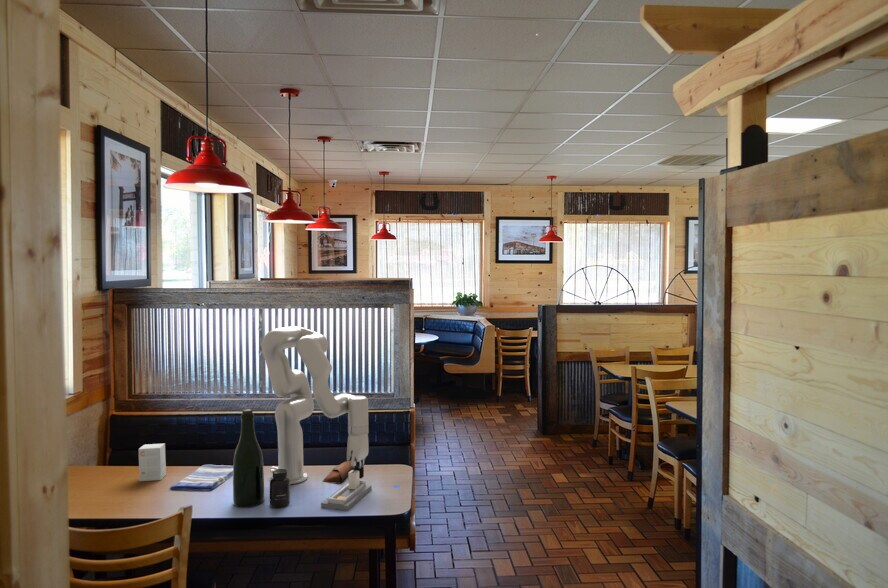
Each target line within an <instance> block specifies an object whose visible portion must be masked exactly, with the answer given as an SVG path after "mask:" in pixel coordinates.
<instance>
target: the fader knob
mask: <svg viewBox="0 0 888 588" xmlns="http://www.w3.org/2000/svg"><path fill="white" fill-rule="evenodd" d="M347 477H348V482H347V483H349V489H355V490H356V489H357V488H358V487H359V486H360V483H359V481H360V478H359V471H357V470H354V469H353V470H351V471H350V472H349V473H348V475H347Z"/></svg>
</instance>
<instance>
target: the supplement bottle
mask: <svg viewBox="0 0 888 588" xmlns="http://www.w3.org/2000/svg"><path fill="white" fill-rule="evenodd" d="M286 476H287V470H286V469H277V470H274V471H273V473H272V478H271V479H270V481H269V506H270V508H273V509H283V508H286V507H288V506H289V505H290V503H291V484H290V479H289V478H288V477H286Z"/></svg>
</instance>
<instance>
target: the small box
mask: <svg viewBox="0 0 888 588" xmlns="http://www.w3.org/2000/svg"><path fill="white" fill-rule="evenodd" d="M137 450H138V478H139V479H138V480H139V482H150V481H152V482H153V481H161V480H163V478H165V476H166V475H167V471H166V470H167V467H166V466H167V462H166V443H152V444H151V443H150V444H149V443H148V444H146V443H145V444H143V445H142V446H140V447H139V448H138V449H137Z"/></svg>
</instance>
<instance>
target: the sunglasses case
mask: <svg viewBox="0 0 888 588" xmlns="http://www.w3.org/2000/svg"><path fill="white" fill-rule="evenodd" d="M351 470H354V467H353V466H351V460H350V461H347V460H346V461H344V462H342V463H340V464H338V465H336V466H334V467H333V468H332V470H331V471H330V472H329V473H328V474H327V475H326V476H325V477H324V478H323V480H322V482H323V483H332V482H337V483H336V484H342V483H343V482H344V481H345V479H346V478H347V477H348V473H349V472H350V471H351ZM339 482H340V483H339Z"/></svg>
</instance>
